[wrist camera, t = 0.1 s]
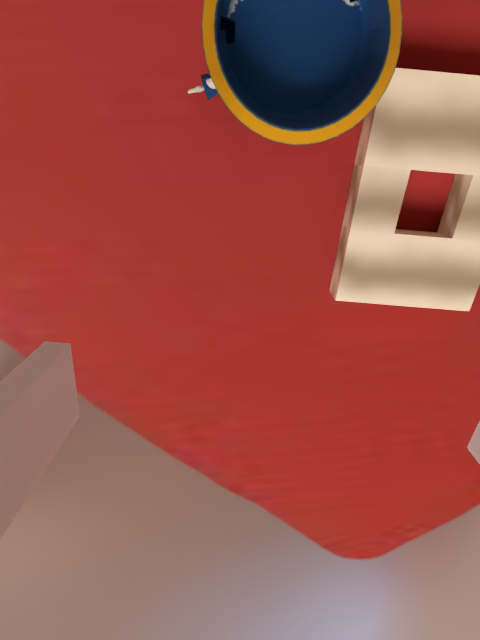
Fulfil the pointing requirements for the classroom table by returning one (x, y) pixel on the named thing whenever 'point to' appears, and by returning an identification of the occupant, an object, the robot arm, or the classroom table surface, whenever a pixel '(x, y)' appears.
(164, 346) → the classroom table surface
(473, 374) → the classroom table surface
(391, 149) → the board
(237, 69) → the blue tall vessel
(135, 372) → the classroom table surface
